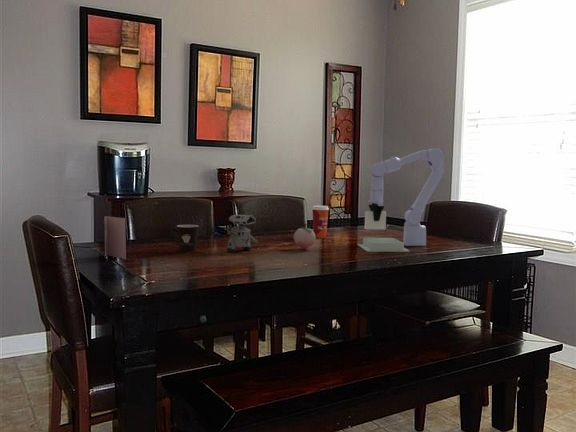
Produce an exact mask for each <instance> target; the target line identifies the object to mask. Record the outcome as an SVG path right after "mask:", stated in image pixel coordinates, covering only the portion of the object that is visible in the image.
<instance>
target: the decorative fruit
mask: <svg viewBox="0 0 576 432" xmlns="http://www.w3.org/2000/svg"><path fill="white" fill-rule="evenodd" d="M316 239H317V238H316V236H315V233H314V232H313V229H311V228H308V227H299V228H297V229H296V230H295V232H294V233H293V240H294V243H295V244H296V245H297V246H298V247H299V248H301V250H307V249H309V248H310V247H312V246H313V245H314V244H315V241H316Z"/></svg>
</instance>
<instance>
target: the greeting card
mask: <svg viewBox="0 0 576 432" xmlns="http://www.w3.org/2000/svg"><path fill="white" fill-rule="evenodd" d="M102 224H103V227H104V257H105V256H106V257H105V259H107V260H108V256H107V255H109V256H113V257H112V258H114V257H117V258H116V259H120V258H122V259H121V260H127V250H126V249H127V247H126V246H127V245H126V230H127V229H126V218H125V217H119V216H118V217H117V216H116V217H115V216H109V215H108V216H107V215H104V220H103V219H102Z"/></svg>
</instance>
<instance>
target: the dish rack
mask: <svg viewBox="0 0 576 432" xmlns="http://www.w3.org/2000/svg"><path fill="white" fill-rule="evenodd" d="M357 246H358V247H360V248H361V249H363V250H364V251H366V252H367V253H369V252H370V253H373V252H374V253H379V252H380V253H381V252H383V253H384V252H386V253H387V252H388V253H389V252H390V253H391V252H393V253H400V252H401V253H403V252H404V253H407V252H408V253H410V250H409V249H407V248H406V247H405V245H404V242H403V241H401V240H399V239H397V238H395V237H363V238H362V243H357Z"/></svg>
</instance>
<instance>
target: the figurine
mask: <svg viewBox="0 0 576 432" xmlns="http://www.w3.org/2000/svg"><path fill="white" fill-rule="evenodd" d="M256 219H257V218H256V217H254V215H253V214H233V215H231V216H230V217H229V218H228V220H229V222H232V223H233V224H234V225H237V226H233V225H232V224H231V225H229V226H228V227H227V234H226V235H227V236H230V238H229V239H228V241H227V248H226V251H227V252H229V253H235V252H236V247H237V248H242V249H243V251H248V252H249V251H252V245H251V241H252V242H254V243H255V244H259V241H260V239H261V237H260V236H258V238H257V239H256V238H254V237H253V235H251V229H250V228H247V225H252V224H255V223H256Z"/></svg>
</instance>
